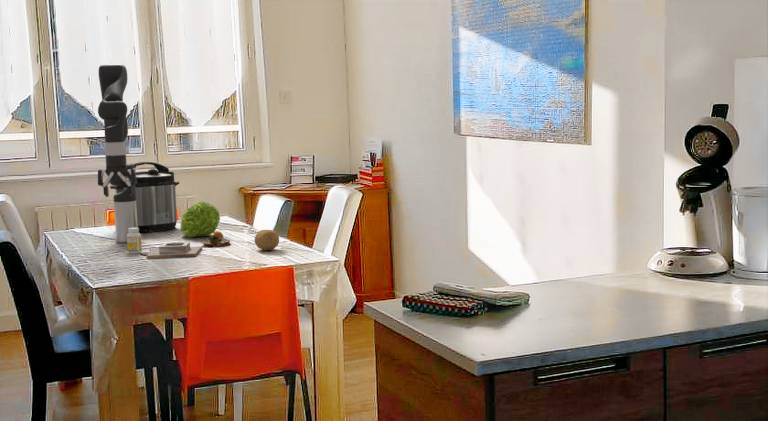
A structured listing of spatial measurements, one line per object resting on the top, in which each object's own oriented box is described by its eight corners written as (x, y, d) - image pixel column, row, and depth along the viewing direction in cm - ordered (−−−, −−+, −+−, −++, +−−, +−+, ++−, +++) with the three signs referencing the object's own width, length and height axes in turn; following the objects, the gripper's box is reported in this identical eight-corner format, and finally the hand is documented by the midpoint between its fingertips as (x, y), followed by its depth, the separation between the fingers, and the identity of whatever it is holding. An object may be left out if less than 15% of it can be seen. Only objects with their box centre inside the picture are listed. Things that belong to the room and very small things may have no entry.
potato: (274, 246, 357) (273, 226, 356) (284, 251, 344) (283, 230, 343) (250, 248, 354) (249, 228, 353) (258, 253, 341) (258, 232, 340)
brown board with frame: (155, 251, 354) (155, 241, 354) (202, 249, 355) (201, 240, 355) (146, 258, 337) (146, 248, 336) (195, 256, 338) (194, 247, 337)
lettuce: (174, 243, 401) (209, 243, 408) (187, 232, 379) (224, 232, 386) (173, 210, 404) (208, 211, 411) (186, 197, 382) (223, 198, 389)
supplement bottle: (132, 254, 349) (131, 229, 348) (124, 252, 353) (123, 228, 352) (144, 252, 353) (143, 227, 352) (136, 251, 357) (135, 226, 356)
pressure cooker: (182, 224, 438) (179, 159, 435) (179, 232, 410) (175, 162, 407) (118, 227, 433) (114, 161, 430) (110, 235, 406) (106, 165, 402)
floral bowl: (216, 242, 375) (215, 225, 374) (236, 244, 368) (235, 226, 367) (194, 246, 365) (193, 228, 364) (215, 248, 358) (214, 230, 357)
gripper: (136, 152, 348) (139, 194, 350) (99, 153, 348) (102, 195, 350) (132, 154, 341) (134, 196, 343) (94, 155, 340) (96, 197, 342)
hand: (118, 196), depth 346 cm, fingers open, 8 cm apart
